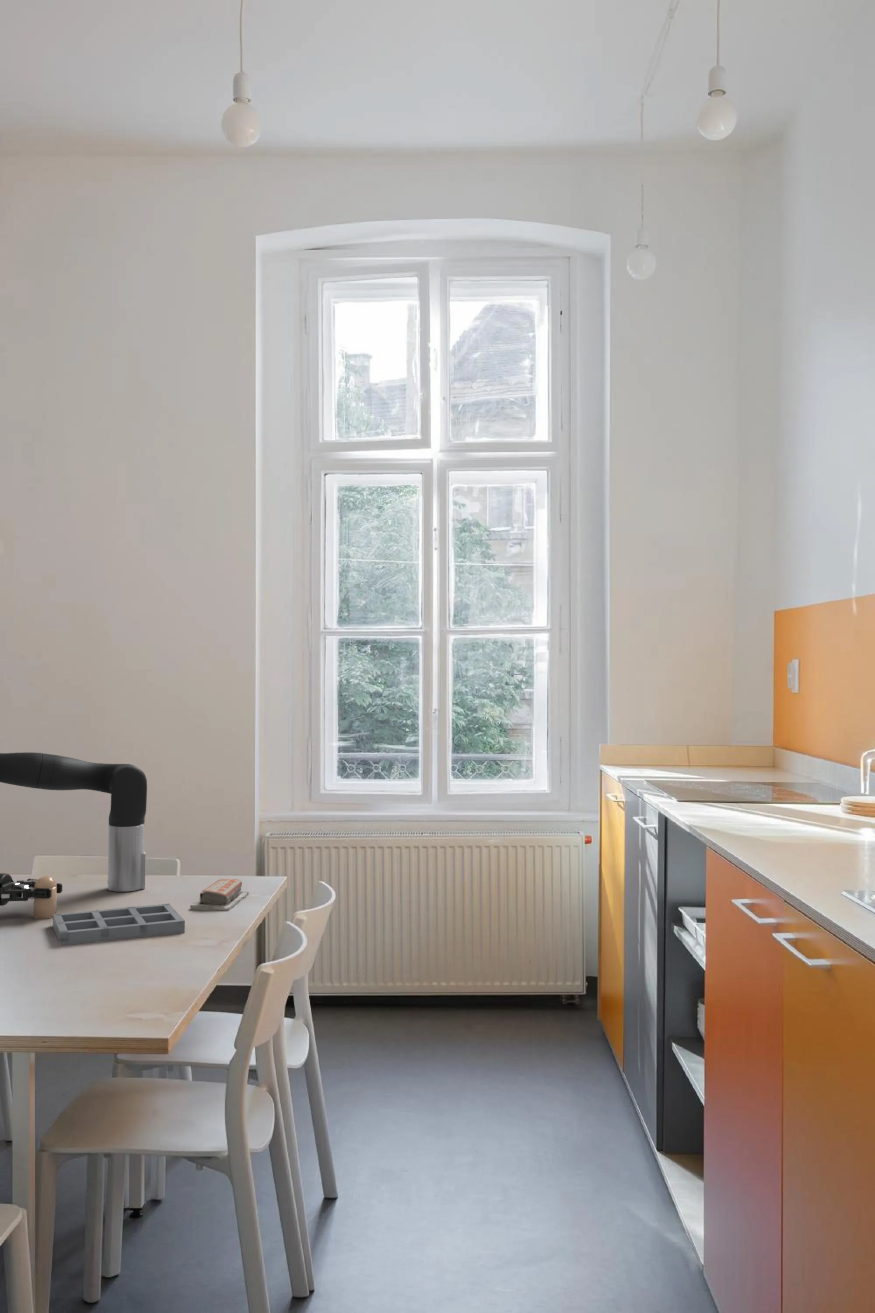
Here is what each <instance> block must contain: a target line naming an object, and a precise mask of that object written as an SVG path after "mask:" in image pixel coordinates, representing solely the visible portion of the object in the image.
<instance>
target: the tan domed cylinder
mask: <svg viewBox="0 0 875 1313" xmlns="http://www.w3.org/2000/svg"><path fill="white" fill-rule="evenodd" d="M34 888H35V889H36V888H49V889H51V890H52V896H51V898H49V899H47V898H35V899H33V918H34V919H38V920H42V919H51V918H52V919H53V914H57V902H58V900H57V898H58V896H57V894H58V893H57V881H56V879H55V878H54V877H52V876H49V875H42V876H41V877H39V878H38V880H37V881H36V883H35V885H34Z"/></svg>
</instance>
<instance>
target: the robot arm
mask: <svg viewBox="0 0 875 1313" xmlns="http://www.w3.org/2000/svg"><path fill="white" fill-rule="evenodd" d="M0 783H3V784H7V785H13V786H18V787H24V788H31V789H38V790H39V789H40V790H46V791H76V790H77V791H78V790H80V791H81V790H85V791H86V790H87V791H89V790H90V791H94V792H95V791H96V792H101V793H104V794H105V793H106V794H110V811H109V816H108V842H107V844H108V845H107V846H108V848H107V852H108V853H107V890H108V891H111V892H117V893H118V892H134V891H138V890H146V852H145V819H146V818H145V817H146V814H147V799H148V796H147V795H148V779H147V776H146V774H145V772H144V771H143V770H142V769H141V768H139V767H138V766H136V765H134V764H131V763H103V762H102V763H99V762H90V761H86V760H81V759H78V758H74V757H68V756H63V755H57V754H50V753H44V752H30V751H29V752H25V751H24V752H8V753H6V752H2V753H1V752H0ZM38 879H39V878H38ZM38 879H37V878H27V879H26V880H24V879H17V880H16V881H14V880H13V877H12V876H11V875H10V874H9V873H5V872H4V873H3V872H1V873H0V907H1V906H2V907H4V906H5V905H7V904H8V903H9V902H27V901H29V900H34V899H35V898H47V899H49V898H51V896H52V890H51V889H49V888H36V889H35V888H34V885H35V883H36V881H37V880H38ZM56 883H57V882H56ZM62 892H63V884H62V883H61V882H60V883H57V894H61V893H62Z"/></svg>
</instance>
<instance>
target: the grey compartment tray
mask: <svg viewBox="0 0 875 1313" xmlns="http://www.w3.org/2000/svg"><path fill="white" fill-rule="evenodd" d="M185 923H186V920H185V919H184V918H183V917H182V916H181V915H180V914H179V913H178V911H177V910H176V909H175V908H174V907H173V906H172V905H171V904H170V903H161V904H151V905H149V904H148V905H140V906H139V905H137V906H128V907H118V908H107V909H106V908H105V909H96V910H85V911H83V910H82V911H74V912H62V913H56V914H53V917H52V927H53V930H54V933H55V935H56V938H57V941H58V944H59V945H61V946H69V945H78V944H79V943H80V944H87V943H88V942H89V943H97V942H96V941H99V942H106V941H115V940H118V941H119V940H126V939H134V938H135V939H136V938H143V937H144V938H145V937H154V936H155V937H156V936H162V935H163V936H165V935H173V934H182V933H183V934H184V933H185V931H186V930H185V928H186V925H185ZM94 941H95V942H94Z"/></svg>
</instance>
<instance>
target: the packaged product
mask: <svg viewBox="0 0 875 1313" xmlns="http://www.w3.org/2000/svg"><path fill="white" fill-rule="evenodd" d="M242 886H243V881H242V880H239V879H236V878H219V879H218V880H216V881H215V882H213V883H212V884H210V885H209V886H207V887H206V888H204V890H201V892H200V893H199V898H198V899H197V900H195V901H193V902H192V903H190V905H189V907H190V910H192V911H221V910H229V911H230V910H232V909H233V908H234V907H235V906H236V905H238V904H239V903H240V902H241V900H242V901H243V900H244V899H245V898H246V897H248V896H249V894H250V892H249V891H242ZM237 903H238V904H237Z"/></svg>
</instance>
